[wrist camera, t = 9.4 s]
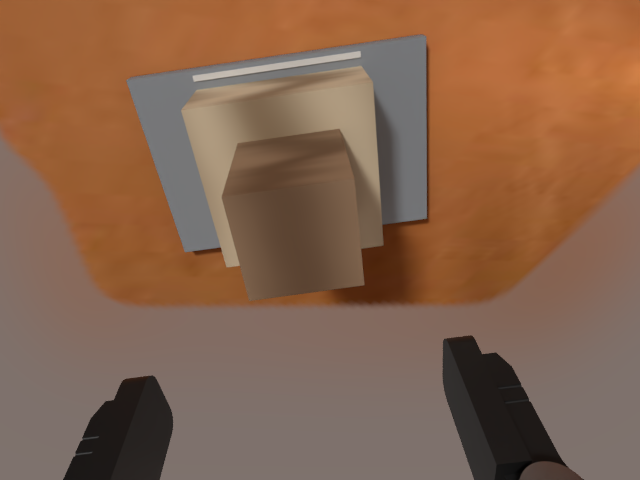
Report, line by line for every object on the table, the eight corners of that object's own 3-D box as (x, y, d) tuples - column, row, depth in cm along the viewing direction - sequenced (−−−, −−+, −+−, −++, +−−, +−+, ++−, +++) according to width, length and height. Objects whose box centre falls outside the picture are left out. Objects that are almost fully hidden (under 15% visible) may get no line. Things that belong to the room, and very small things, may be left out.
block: (339, 128, 22) (354, 178, 17) (348, 218, 24) (364, 285, 19) (237, 143, 22) (221, 197, 17) (257, 231, 24) (249, 300, 19)
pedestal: (361, 65, 24) (372, 82, 21) (372, 212, 29) (383, 245, 25) (196, 90, 24) (181, 110, 21) (234, 231, 29) (226, 267, 26)
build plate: (422, 34, 24) (426, 36, 24) (423, 212, 30) (427, 218, 29) (130, 77, 25) (125, 80, 24) (187, 245, 30) (184, 252, 30)
